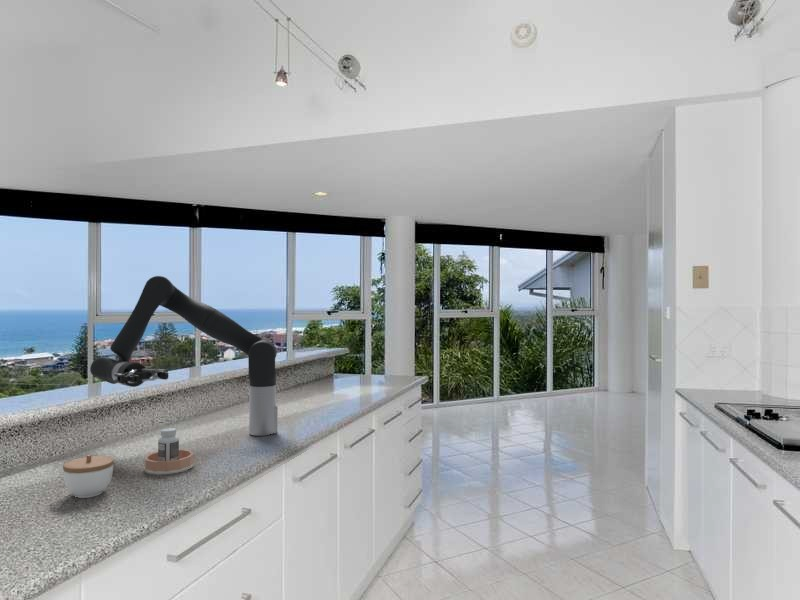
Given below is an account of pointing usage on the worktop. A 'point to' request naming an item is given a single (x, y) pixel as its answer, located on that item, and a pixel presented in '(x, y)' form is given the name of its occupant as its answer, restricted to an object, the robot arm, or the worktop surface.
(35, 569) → the worktop surface
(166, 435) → the pill bottle
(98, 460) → the lidded jar
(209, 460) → the worktop surface
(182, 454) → the bowl
